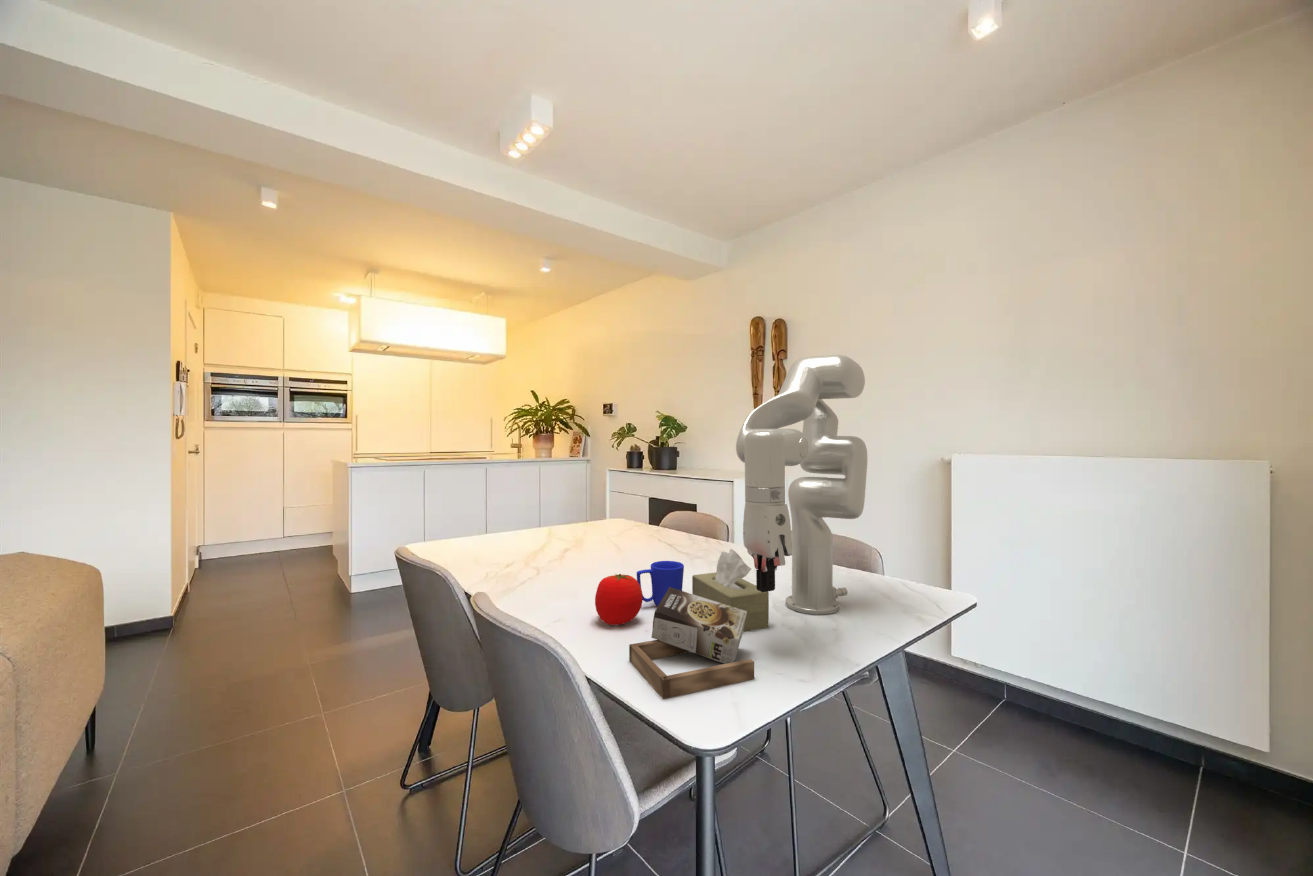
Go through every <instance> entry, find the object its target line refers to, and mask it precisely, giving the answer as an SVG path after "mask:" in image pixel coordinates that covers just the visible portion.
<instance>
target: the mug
mask: <svg viewBox="0 0 1313 876" xmlns="http://www.w3.org/2000/svg"><path fill="white" fill-rule="evenodd" d="M684 571H685V564H684V563H682V562H679V561H675V560H660V561H659V560H658V561H655V562H652V563H651V564H650V568H649V569H641V570H637V571H636V580H637V581H638V583H639V585H640V587H641V588H642V585H641V583H642V582H641V575H643V574H649V576H650V580H651V596H650V597H649V598H647V597H645V596H644V595H643V601H642V602H646V603H647V602H651V601H653V603H654V605H655V606H656V607H658V605H659V603H660V602H661V600H662V598H663V597H664V595H665V593H666V592H667V590H668V588H669V587H671V588H674V589H677V590H681V591H683V582H684V581H683V580H684V573H685V572H684Z"/></svg>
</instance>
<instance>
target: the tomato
mask: <svg viewBox="0 0 1313 876" xmlns="http://www.w3.org/2000/svg"><path fill="white" fill-rule="evenodd" d="M643 596H644V595H643V590H642V586H641V587H640V585H639V583H638V581H637V578H635V577H634V576H631V575H629V574H621V573H619V574H617V573H614V575H608V576H606V577H604V578H602V579H601V580H600V581H599V583H598V585H597V587H596V592H595V596H594V605H595V611H596V613H597V616H598V617H599V618H600V620H601V621H602V622H603V623H605V624H607V625H610V626H621V625H625V624H627V623H629V622H631V621H632V620H634V619H635V618H636V617H637V615H638V614H639V613H640V610H641V608H642V604H643V602H644V601H643Z"/></svg>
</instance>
